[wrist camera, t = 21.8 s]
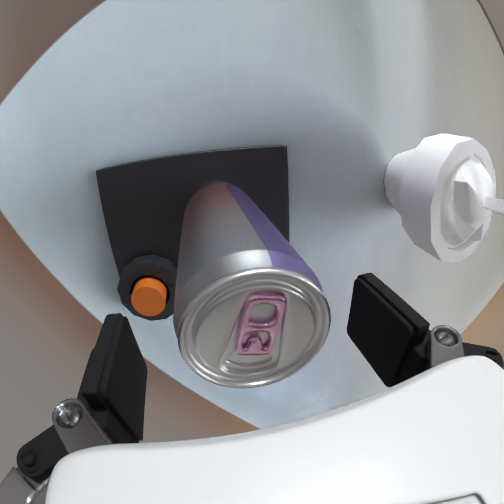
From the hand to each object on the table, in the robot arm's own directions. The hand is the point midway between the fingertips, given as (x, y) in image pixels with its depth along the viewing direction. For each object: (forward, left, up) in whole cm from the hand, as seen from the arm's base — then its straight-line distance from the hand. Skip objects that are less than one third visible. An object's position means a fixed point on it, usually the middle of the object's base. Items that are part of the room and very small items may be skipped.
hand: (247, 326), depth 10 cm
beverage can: (0, 0, -14) cm, 14 cm away
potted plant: (+20, +2, -15) cm, 26 cm away
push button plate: (-2, -1, -15) cm, 15 cm away
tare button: (-7, -5, -13) cm, 15 cm away
